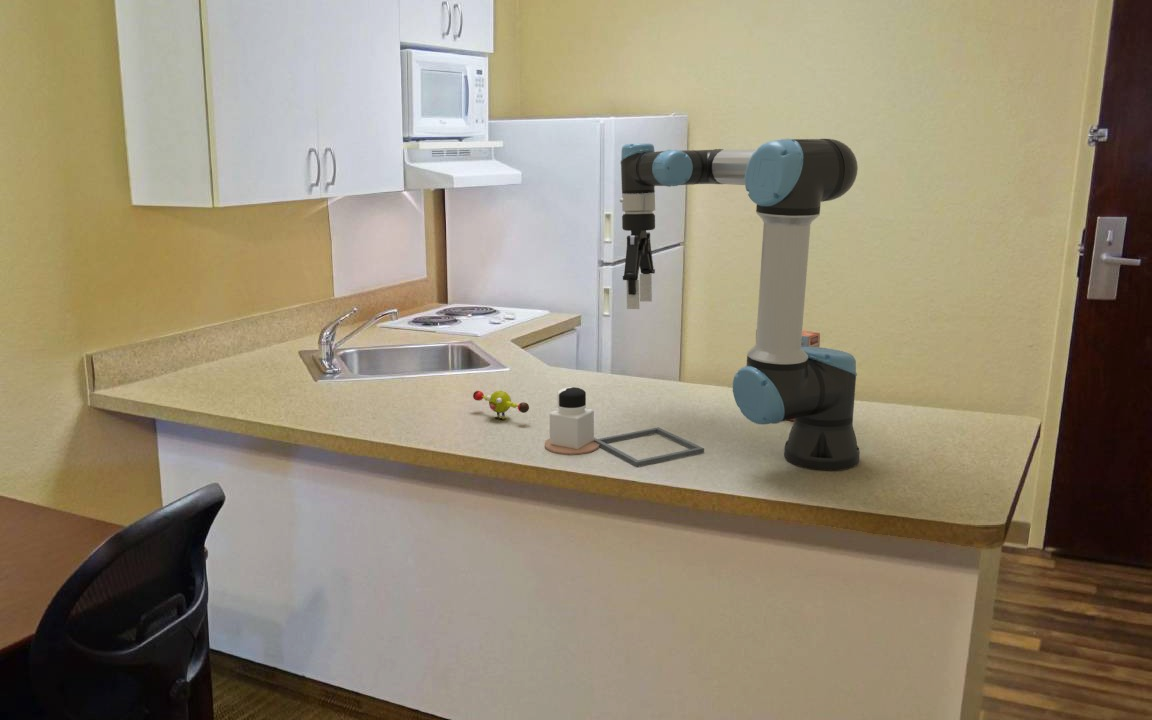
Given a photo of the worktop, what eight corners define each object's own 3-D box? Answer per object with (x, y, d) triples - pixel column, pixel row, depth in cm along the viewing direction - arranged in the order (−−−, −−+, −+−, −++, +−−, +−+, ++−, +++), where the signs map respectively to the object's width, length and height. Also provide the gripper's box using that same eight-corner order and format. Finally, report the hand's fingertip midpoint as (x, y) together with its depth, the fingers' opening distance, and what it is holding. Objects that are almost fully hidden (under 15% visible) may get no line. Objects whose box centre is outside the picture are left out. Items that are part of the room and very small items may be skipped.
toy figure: (465, 414, 232) (465, 387, 230) (482, 409, 236) (482, 382, 234) (518, 429, 220) (517, 400, 218) (535, 423, 224) (534, 395, 222)
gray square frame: (703, 452, 203) (704, 448, 203) (636, 467, 195) (636, 462, 194) (658, 431, 217) (658, 427, 217) (593, 444, 209) (593, 439, 209)
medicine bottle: (594, 440, 209) (594, 387, 206) (577, 450, 203) (577, 395, 200) (566, 435, 213) (566, 383, 210) (549, 444, 207) (548, 391, 204)
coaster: (610, 448, 206) (610, 445, 206) (561, 458, 200) (561, 455, 200) (582, 433, 216) (582, 431, 216) (535, 442, 210) (535, 439, 210)
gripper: (634, 211, 232) (635, 298, 236) (609, 215, 209) (610, 311, 212) (665, 210, 230) (665, 298, 234) (642, 214, 206) (644, 312, 210)
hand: (639, 305), depth 223 cm, fingers open, 13 cm apart
